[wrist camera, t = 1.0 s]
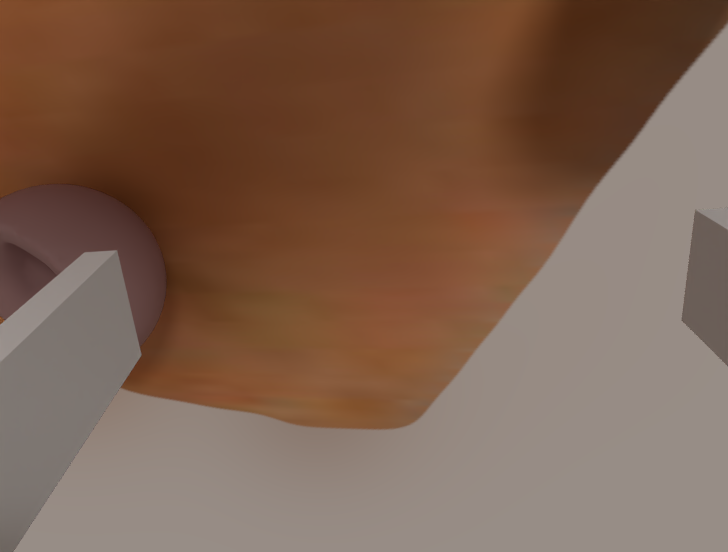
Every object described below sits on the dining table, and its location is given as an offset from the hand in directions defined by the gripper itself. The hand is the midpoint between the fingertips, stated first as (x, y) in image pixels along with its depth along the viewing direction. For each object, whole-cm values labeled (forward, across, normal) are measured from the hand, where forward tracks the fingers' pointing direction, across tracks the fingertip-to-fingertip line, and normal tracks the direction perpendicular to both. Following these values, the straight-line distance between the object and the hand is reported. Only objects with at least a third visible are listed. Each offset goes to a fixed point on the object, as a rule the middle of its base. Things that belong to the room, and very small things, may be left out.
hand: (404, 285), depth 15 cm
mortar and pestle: (+29, -20, -7) cm, 36 cm away
